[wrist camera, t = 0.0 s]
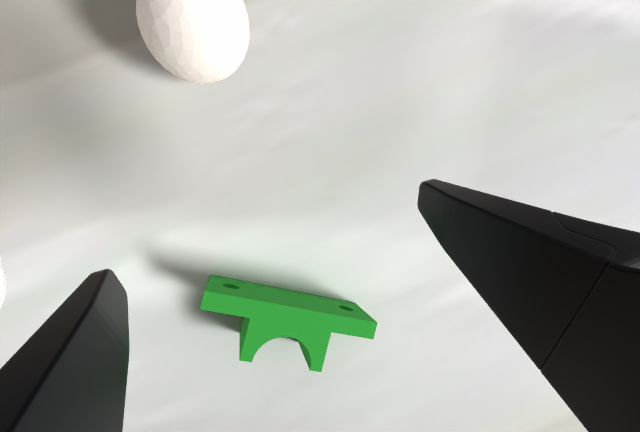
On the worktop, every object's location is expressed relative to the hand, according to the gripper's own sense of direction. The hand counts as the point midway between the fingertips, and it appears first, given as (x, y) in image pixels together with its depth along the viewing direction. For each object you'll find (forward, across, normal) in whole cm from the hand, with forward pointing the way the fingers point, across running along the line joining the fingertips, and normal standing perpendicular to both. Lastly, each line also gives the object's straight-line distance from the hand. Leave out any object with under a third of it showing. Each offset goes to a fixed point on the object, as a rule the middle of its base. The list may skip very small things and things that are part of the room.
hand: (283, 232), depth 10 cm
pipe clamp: (+9, 0, +14) cm, 17 cm away
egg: (+19, +1, -2) cm, 19 cm away
